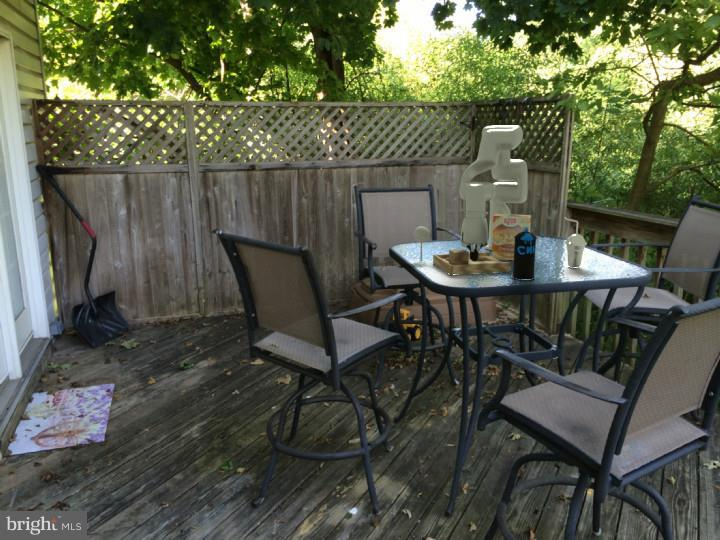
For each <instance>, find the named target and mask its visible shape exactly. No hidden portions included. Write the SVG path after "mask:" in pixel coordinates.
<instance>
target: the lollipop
mask: <svg viewBox="0 0 720 540" xmlns="http://www.w3.org/2000/svg"><path fill="white" fill-rule="evenodd" d="M430 233H431V232H430V230H429V228H428V227H426V226H422V225H420V226H417V227H416V228H415V229H414V231H413V238H414V240H415V241H416V242H417V243H420V261H423V243H425V242H427V241H428V239H429V238H430V235H431V234H430Z"/></svg>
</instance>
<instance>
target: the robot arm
mask: <svg viewBox="0 0 720 540" xmlns="http://www.w3.org/2000/svg"><path fill="white" fill-rule="evenodd" d="M523 137H524V132H523V129H522V127H521V126H520V125H501V124H500V125H487V126H484V127H483V128H482V131H481V139H480V144H479V149H478V154H477V159H475V161H473V162H472V163H471V164H469V166H467V168H466V169H465V170H464V172H463V174H462V176H461V180H460V185H459V193H458V194H459V197H460V198H461V199H462V200H463V201H465V217H464V218H463V220H462V224H461V233H460V242H461V245H460V246H461V247H462V248H466V249H468V251H469V253H470V259H471V260H472V261H477V259H478V252H480V250H481V249H483V247H485V249H486V250H488V251H492V235H493V215H495V214H512V213H511V209H510V208H509V206H508V205H507V204H510V203H511V204H523V203H525V202H526V201H527V199H528V190H529V189H528V183H529V182H528V181H529V180H528V165H527V162H526V161H525V160H523V159H512V158H511V150H512V151H513V150H515V149H516V148H517V147H518V146H520V144H521V143H522V141H523ZM489 171H491V176H492V179H494V180H496V182H493V183H492V182H488V181H472V180H473V179H474V177H477V176H478V175H480V174H483V173H485V172H489ZM512 181H513V182H512ZM486 202H489V212H488V211H486V205H487V203H486ZM487 216H489V228H488V221H487V218H486V217H487Z"/></svg>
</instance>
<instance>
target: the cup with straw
mask: <svg viewBox="0 0 720 540" xmlns="http://www.w3.org/2000/svg"><path fill="white" fill-rule="evenodd" d="M564 220H565V221H568V222H573V223H576V228H575V233H573V234H571V235H569V236H568V237H567V239H566V240H565V242H564V244H565V246H566V250H567V252H566V253H567V254H566V255H567V265H568V266H570V267H579V266H581V265H582V264H581V263H582V259H583V253H584V250H585V246H587V245H588V243H587V242H586V240H585V238H584V237H583V235H582V234H580V233H579V232H578V231H579V221H578V220H575V219H571V218H566V217H564ZM568 266H567V267H568Z"/></svg>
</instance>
